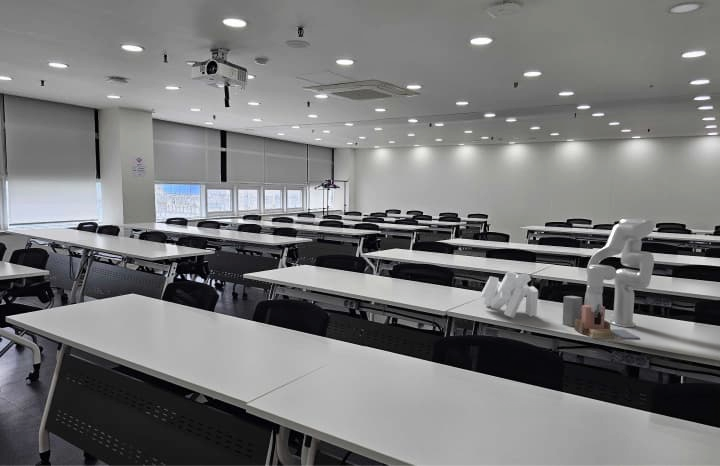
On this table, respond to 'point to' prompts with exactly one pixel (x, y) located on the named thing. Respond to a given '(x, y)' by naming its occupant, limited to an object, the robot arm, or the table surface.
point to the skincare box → (572, 310)
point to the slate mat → (623, 334)
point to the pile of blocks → (511, 293)
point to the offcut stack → (600, 333)
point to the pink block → (591, 318)
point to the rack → (580, 328)
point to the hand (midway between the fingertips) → (592, 321)
